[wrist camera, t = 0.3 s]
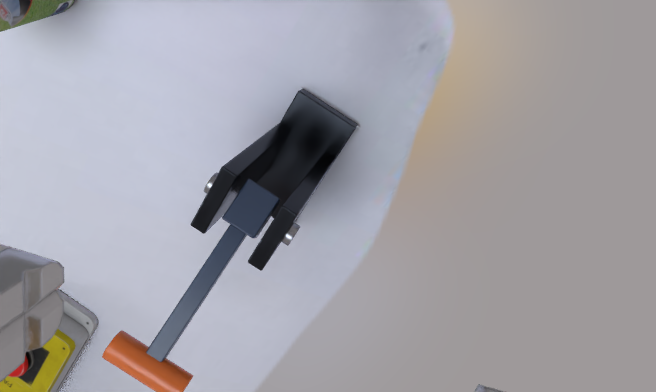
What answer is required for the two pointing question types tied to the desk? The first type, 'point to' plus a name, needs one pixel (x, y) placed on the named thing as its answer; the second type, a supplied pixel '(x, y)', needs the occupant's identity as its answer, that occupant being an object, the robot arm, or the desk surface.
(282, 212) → the switch bracket
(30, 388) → the emergency button
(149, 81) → the desk surface
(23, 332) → the robot arm
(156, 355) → the switch lever
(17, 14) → the beverage can
